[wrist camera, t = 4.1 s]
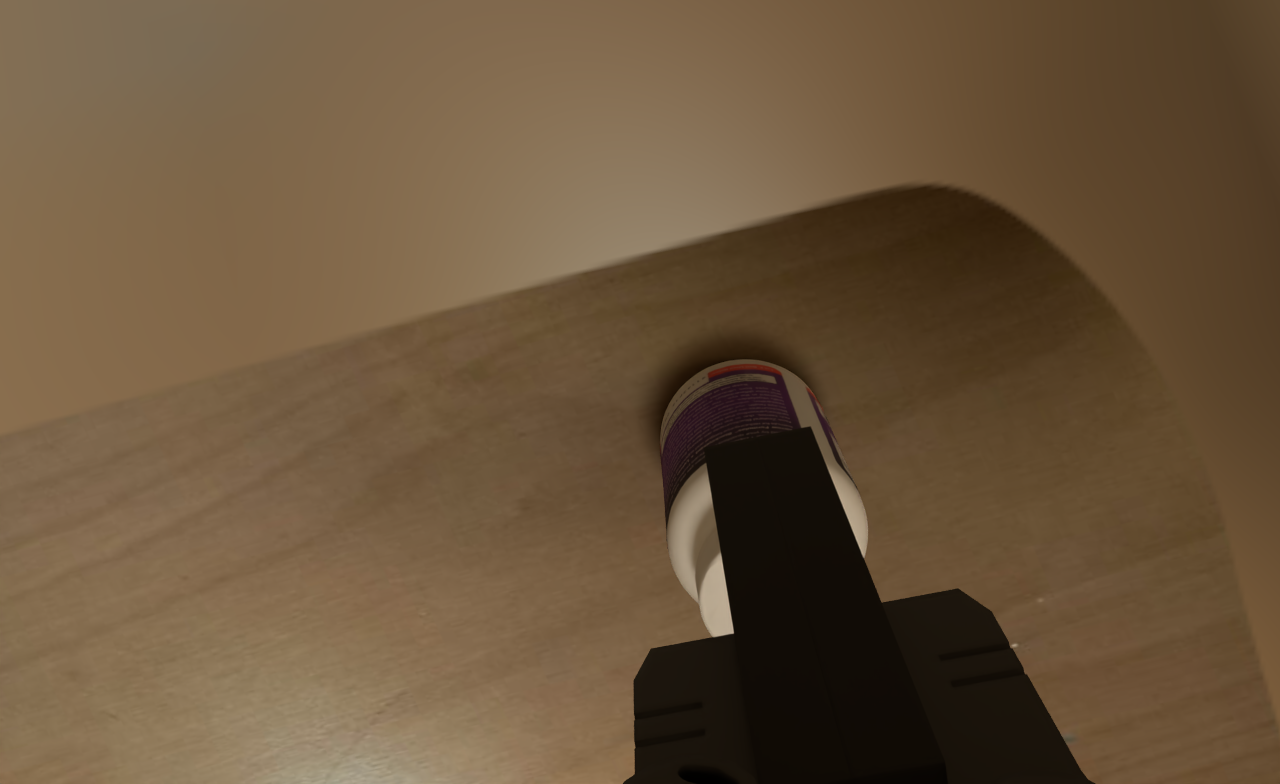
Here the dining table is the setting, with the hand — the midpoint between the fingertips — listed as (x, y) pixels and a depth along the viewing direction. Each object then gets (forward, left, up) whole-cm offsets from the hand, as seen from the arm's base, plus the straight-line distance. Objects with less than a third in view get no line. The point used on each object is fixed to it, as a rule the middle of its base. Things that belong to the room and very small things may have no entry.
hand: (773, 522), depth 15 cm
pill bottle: (0, +7, -19) cm, 20 cm away
